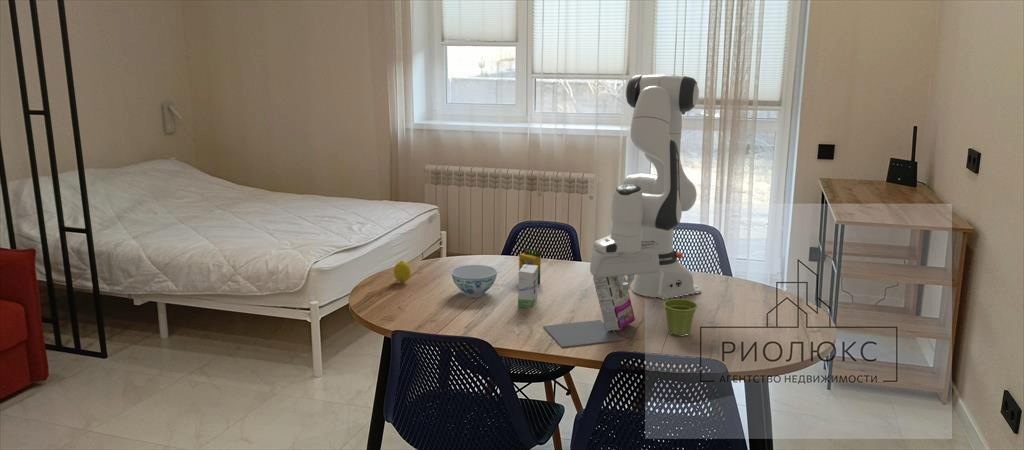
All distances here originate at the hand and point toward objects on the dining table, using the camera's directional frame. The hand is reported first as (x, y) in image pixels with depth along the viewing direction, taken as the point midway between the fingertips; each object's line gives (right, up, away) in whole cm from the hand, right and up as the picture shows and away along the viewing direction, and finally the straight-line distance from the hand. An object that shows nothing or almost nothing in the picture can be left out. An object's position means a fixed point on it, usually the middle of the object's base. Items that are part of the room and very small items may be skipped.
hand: (624, 289), depth 222 cm
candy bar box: (-1, -11, +3) cm, 12 cm away
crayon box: (-26, -2, +45) cm, 52 cm away
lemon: (-70, -2, +45) cm, 83 cm away
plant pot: (+16, -13, +1) cm, 20 cm away
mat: (-12, -13, 0) cm, 18 cm away
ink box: (-27, -7, +25) cm, 37 cm away
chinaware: (-44, -4, +34) cm, 56 cm away
